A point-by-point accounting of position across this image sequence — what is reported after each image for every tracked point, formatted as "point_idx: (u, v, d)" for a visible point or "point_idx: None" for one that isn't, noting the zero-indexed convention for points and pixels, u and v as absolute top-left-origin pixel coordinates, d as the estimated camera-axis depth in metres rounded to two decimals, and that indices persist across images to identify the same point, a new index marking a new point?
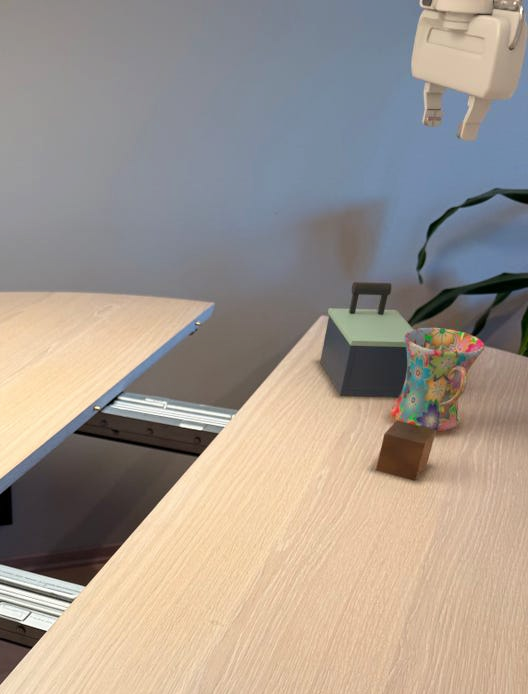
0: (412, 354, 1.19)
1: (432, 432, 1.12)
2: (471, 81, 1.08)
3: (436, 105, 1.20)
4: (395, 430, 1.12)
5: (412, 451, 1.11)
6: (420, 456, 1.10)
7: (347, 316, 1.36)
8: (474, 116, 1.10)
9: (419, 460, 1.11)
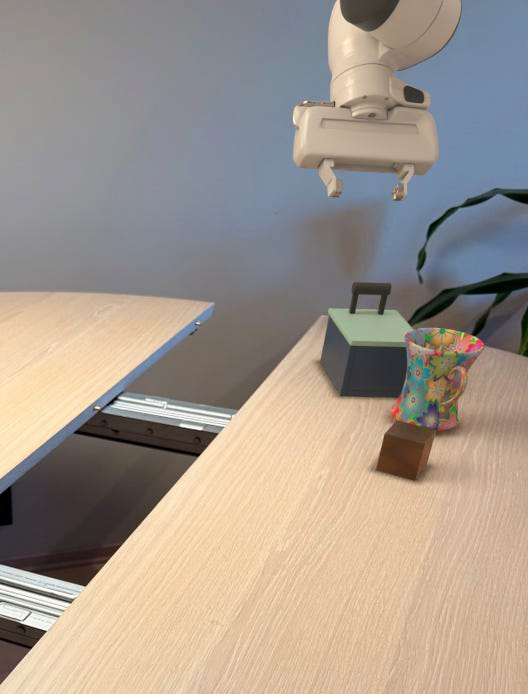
0: (412, 354, 1.19)
1: (432, 432, 1.12)
2: None
3: (401, 183, 1.38)
4: (395, 430, 1.12)
5: (412, 451, 1.11)
6: (420, 456, 1.10)
7: (347, 316, 1.36)
8: (324, 178, 1.37)
9: (419, 460, 1.11)
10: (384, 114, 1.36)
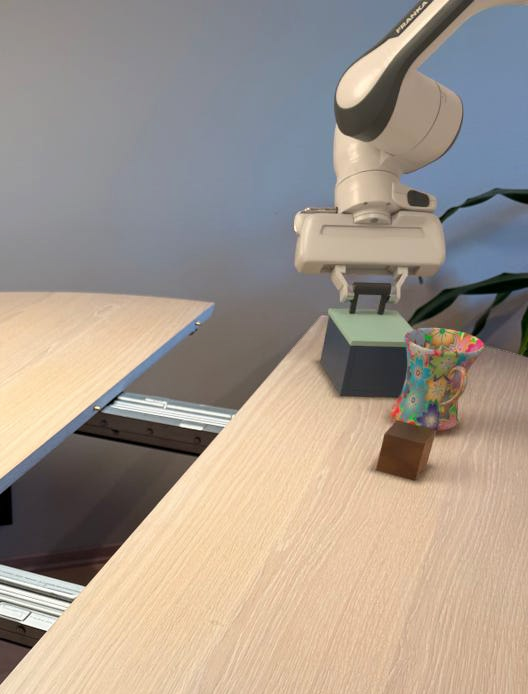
0: (412, 354, 1.19)
1: (432, 432, 1.12)
2: None
3: (395, 285, 1.35)
4: (395, 430, 1.12)
5: (412, 451, 1.11)
6: (420, 456, 1.10)
7: (347, 317, 1.36)
8: (337, 284, 1.36)
9: (419, 460, 1.11)
10: (387, 219, 1.35)
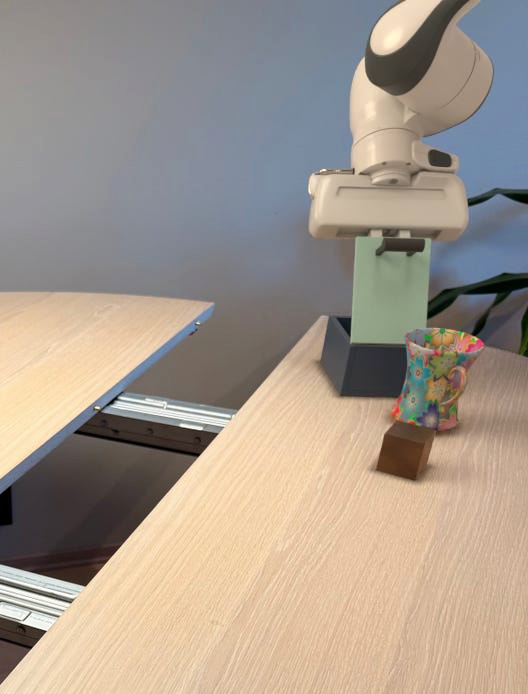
0: (412, 354, 1.19)
1: (432, 432, 1.12)
2: None
3: None
4: (395, 430, 1.12)
5: (412, 451, 1.11)
6: (420, 456, 1.10)
7: (369, 266, 1.27)
8: None
9: (419, 460, 1.11)
10: (407, 180, 1.27)
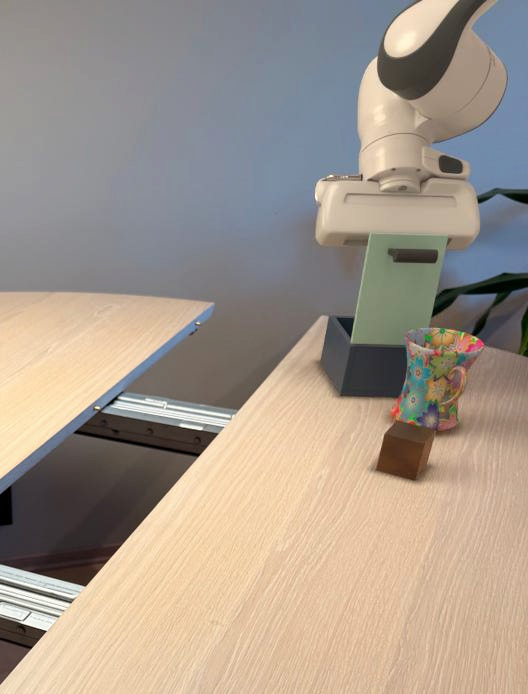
0: (412, 354, 1.19)
1: (432, 432, 1.12)
2: None
3: None
4: (395, 430, 1.12)
5: (412, 451, 1.11)
6: (420, 456, 1.10)
7: (379, 265, 1.23)
8: None
9: (419, 460, 1.11)
10: (416, 186, 1.24)
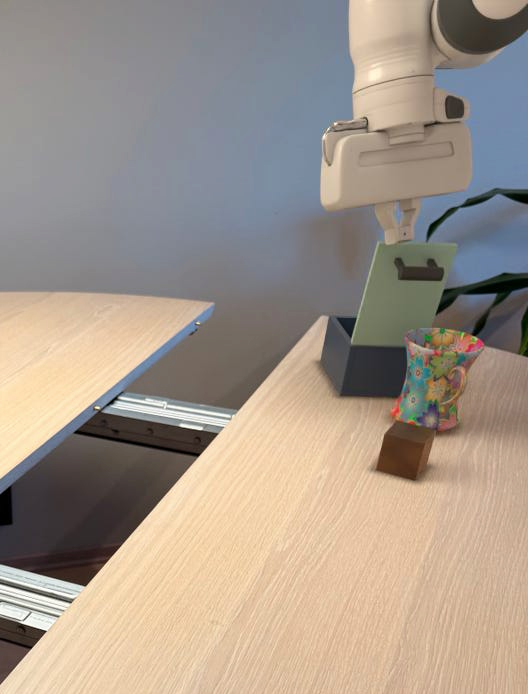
0: (412, 354, 1.19)
1: (432, 432, 1.12)
2: None
3: (407, 221, 1.16)
4: (395, 430, 1.12)
5: (412, 451, 1.11)
6: (420, 456, 1.10)
7: (384, 273, 1.21)
8: (384, 222, 1.15)
9: (419, 460, 1.11)
10: (423, 138, 1.12)
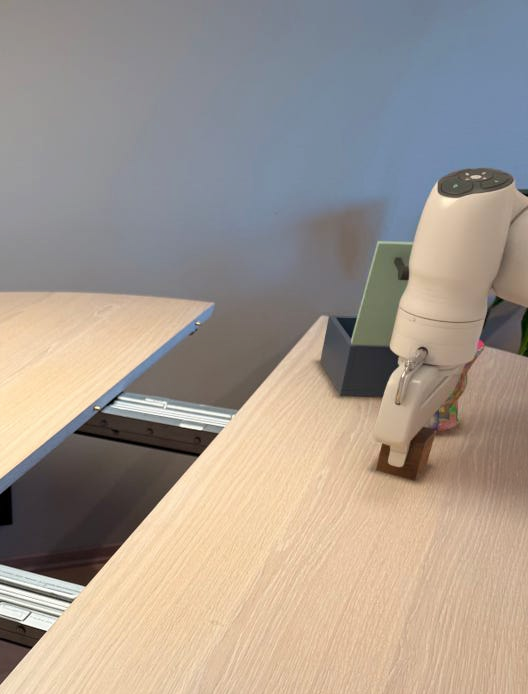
0: None
1: (432, 432, 1.12)
2: None
3: None
4: None
5: (412, 451, 1.11)
6: (420, 456, 1.10)
7: (384, 273, 1.21)
8: (395, 446, 1.09)
9: (419, 460, 1.11)
10: None
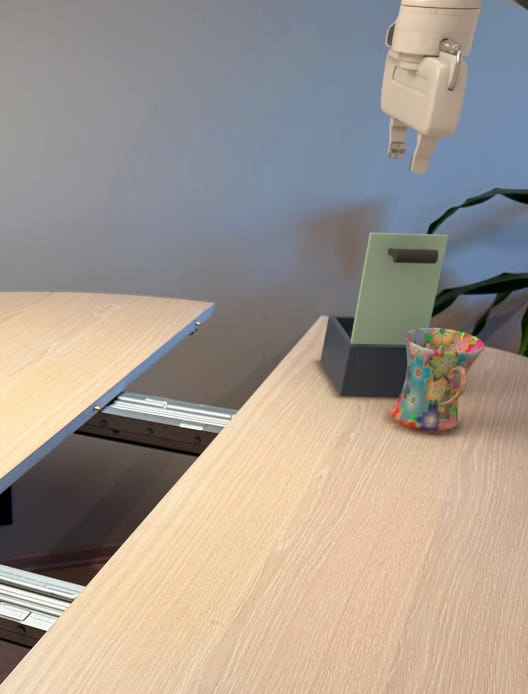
0: (412, 354, 1.19)
1: None
2: (418, 118, 1.14)
3: (400, 138, 1.26)
4: None
5: None
6: None
7: (379, 265, 1.23)
8: (422, 151, 1.17)
9: None
10: None
